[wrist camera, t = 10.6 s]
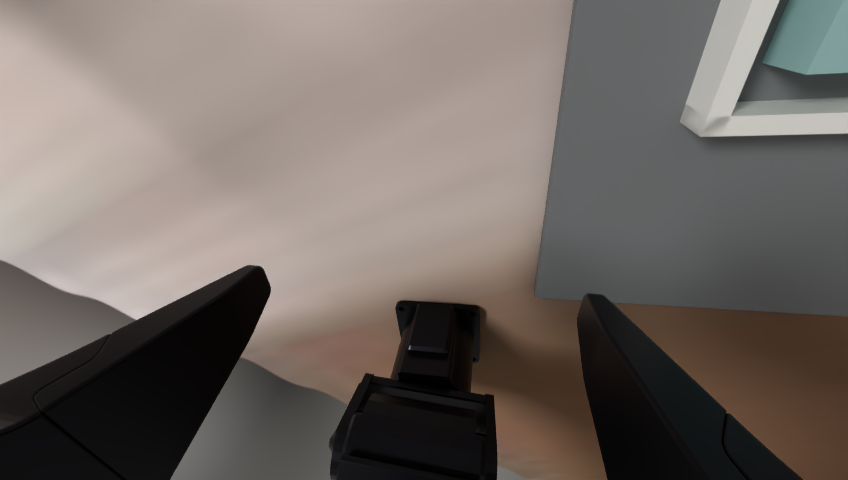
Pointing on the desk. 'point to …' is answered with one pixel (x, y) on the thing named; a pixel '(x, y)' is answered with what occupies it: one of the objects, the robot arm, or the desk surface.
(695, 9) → the mat
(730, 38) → the tray frame
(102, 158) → the desk surface
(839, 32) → the tile
